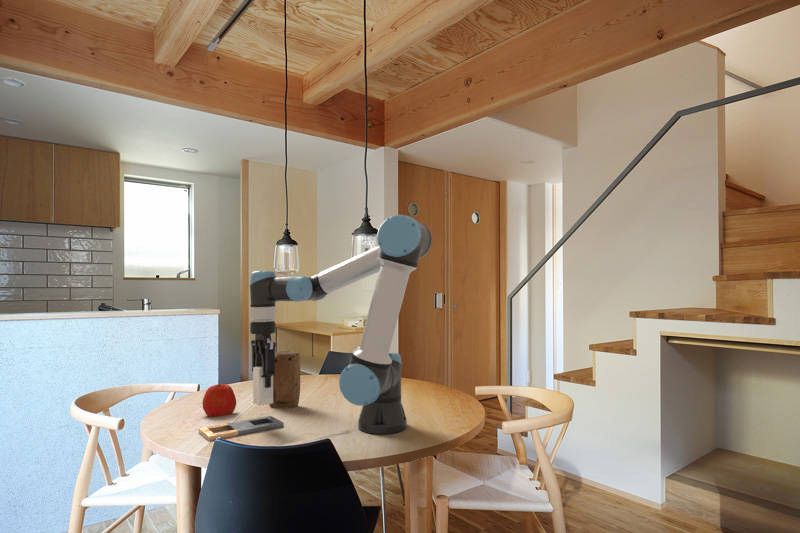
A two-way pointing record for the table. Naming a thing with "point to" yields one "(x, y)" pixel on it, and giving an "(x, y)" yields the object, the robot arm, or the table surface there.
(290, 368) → the block
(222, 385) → the apple
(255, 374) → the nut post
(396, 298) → the robot arm
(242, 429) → the grey slotted base plate
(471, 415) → the table surface
